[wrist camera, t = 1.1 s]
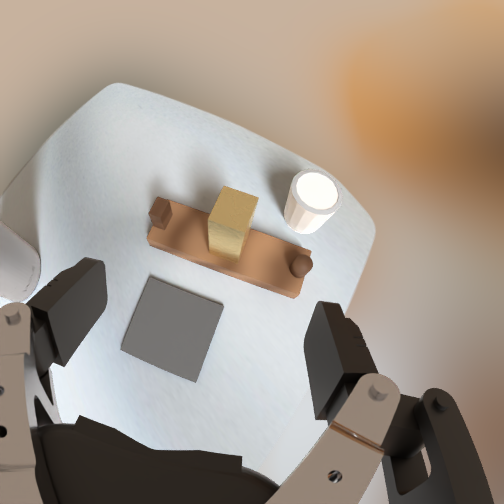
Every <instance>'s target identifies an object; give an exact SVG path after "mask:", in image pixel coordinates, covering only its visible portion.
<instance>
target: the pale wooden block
mask: <svg viewBox="0 0 504 504" xmlns="http://www.w3.org/2000/svg"><path fill="white" fill-rule="evenodd" d="M257 202H258V197H255V196H253V195H250V194H247V193H244V192H241V191H238V190H235V189H232V188H229V187H226V186H223V188H222V190H221V193H220V195H219V197H218V199H217V201H216V203H215V205H214V207H213V209H212V212H211V214H210V216H209V218H208V235H209V254H212V255H214V256H217V257H220V258H222V259H225V260H228V261H231V262H233V263H236V264H238V261H239V259H240V256H241V253H242V251H243V248H244V246H245V243H246V240H247V238H248V235H249V231H250V228H251V224H252V220H253V217H254V213H255V209H256V206H257Z"/></svg>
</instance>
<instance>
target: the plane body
mask: <svg viewBox="0 0 504 504" xmlns="http://www.w3.org/2000/svg"><path fill="white" fill-rule="evenodd" d="M148 214H149V216H150V218H151V221H152V223H153V226H152V228H151V230H150V232H149V234H148V236H147V240H148V242H149V244H150V246H153V247H155V248H158V249H160V250H163V251H165V252H168V253H171V254H173V255H176V256H178V257H181V258H184V259H186V260H189V261H191V262H194V263H197V264H199V265H202V266H205V267H207V268H210V269H213V270H215V271H218V272H221V273H223V274H226V275H229V276H231V277H234V278H237V279H240V280H242V281H245V282H248V283H251V284H253V285H256V286H259V287H262V288H265V289H267V290H270V291H273V292H276V293H279V294H282V295H284V296H287V297H290V298H293V299H294V298H296V297H297V296H298V295H299V294H300V291H301V287H302V284H303V280H304V277H305V275H306V274H307V273H308V272H309V271H310V270H311V269H312V267H313V262H312V259H311V258H310V255H311V251H310V250H308V249H305V248H302V247H299V246H297V245H294V244H291V243H289V242H286V241H283V240H281V239H278V238H275V237H272V236H270V235H267V234H264V233H261V232H259V231H256V230H253V229H250V231H249V235H248V238H247V240H246V243H245V246H244V248H243V251H242V253H241V256H240V259H239V261H238V264H236V263H233V262H231V261H228V260H225V259H222V258H220V257H217V256H214V255H212V254H209V235H208V218H209V216H210V214H208V213H205V212H202V211H200V210H197V209H194V208H191V207H188V206H185V205H182V204H179V203H176V202H173V201H171V200H168V199H167V200H166V199H163V198H160V197H157V199H156V201H155V202H154V204H153V206H152V208H151V210H150V211H149V213H148Z"/></svg>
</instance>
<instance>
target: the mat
mask: <svg viewBox="0 0 504 504" xmlns="http://www.w3.org/2000/svg"><path fill="white" fill-rule="evenodd" d="M223 308H224V306H222V305H220V304H217V303H214V302H212V301H209V300H206V299H204V298H201V297H199V296H196V295H193V294H191V293H188V292H186V291H183V290H181V289H178V288H176V287H173V286H171V285H168V284H166V283H164V282H161V281H159V280H156V279H154V278H152V277H150V278H149V280H148V283H147V285H146V287H145V289H144V292H143V294H142V296H141V299H140V301H139V304H138V306H137V308H136V311H135V313H134V316H133V318H132V321H131V323H130V326H129V328H128V331H127V333H126V336H125V339H124V341H123V344H122V347H121V349H120V350H122V351H124V352H126V353H128V354H130V355H132V356H134V357H137V358H139V359H141V360H143V361H145V362H147V363H149V364H152V365H154V366H156V367H158V368H161V369H163V370H165V371H168V372H170V373H173V374H175V375H177V376H180V377H182V378H185V379H188V380H190V381H193V382H195V383H196V381H197V379H198V376H199V373H200V370H201V368H202V365H203V362H204V359H205V357H206V354H207V351H208V349H209V346H210V343H211V340H212V338H213V335H214V332H215V330H216V327H217V324H218V322H219V319H220V316H221V314H222V311H223Z"/></svg>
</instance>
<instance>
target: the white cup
mask: <svg viewBox="0 0 504 504" xmlns="http://www.w3.org/2000/svg"><path fill="white" fill-rule="evenodd" d="M342 199H343V195H342V191H341V188H340V186H339V185H338V183H337V181H336V180H335V179H334V178H332V177H331V176H330V175H329V174H327V173H325V172H323V171H320V170H316V169H307V170H303V171H300V172H299V173H298V174H297V175H295V176H294V178H293V181H292V184H291V187H290V191H289V195H288V198H287V202H286V206H285V210H284V219H285V221H286V223H287V225H288V226H289V227H290V228H291V229H293V230H294V231H296V232H298V233H301V234H309V233H312V232H314V231H316V230H317V229H318V228H319V227H320V226H321V225H322V224H323V223H324V222H325V221H326V220H327V219H328V218H330V217H331V216H332V215H333V214H334V213H335V212H336V211H337V210H338V208H339V207H340V206H341V204H342Z"/></svg>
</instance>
